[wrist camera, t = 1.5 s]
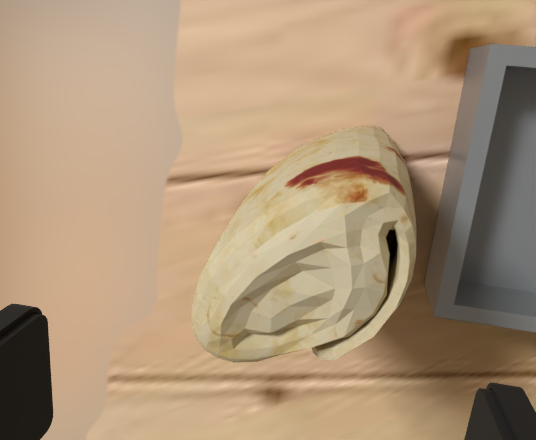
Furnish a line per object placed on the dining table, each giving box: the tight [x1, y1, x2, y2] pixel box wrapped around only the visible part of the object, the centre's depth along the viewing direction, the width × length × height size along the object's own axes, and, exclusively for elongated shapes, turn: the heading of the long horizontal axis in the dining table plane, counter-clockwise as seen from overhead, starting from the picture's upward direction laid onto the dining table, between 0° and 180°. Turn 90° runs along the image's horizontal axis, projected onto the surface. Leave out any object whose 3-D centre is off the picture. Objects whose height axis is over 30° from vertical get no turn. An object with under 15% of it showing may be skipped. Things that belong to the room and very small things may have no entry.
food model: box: [192, 126, 416, 362], centre depth 24 cm, size 10×7×20 cm
